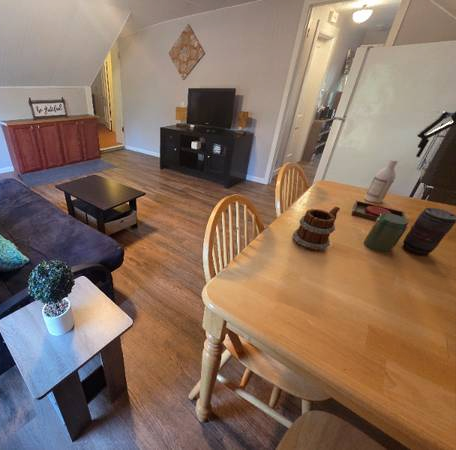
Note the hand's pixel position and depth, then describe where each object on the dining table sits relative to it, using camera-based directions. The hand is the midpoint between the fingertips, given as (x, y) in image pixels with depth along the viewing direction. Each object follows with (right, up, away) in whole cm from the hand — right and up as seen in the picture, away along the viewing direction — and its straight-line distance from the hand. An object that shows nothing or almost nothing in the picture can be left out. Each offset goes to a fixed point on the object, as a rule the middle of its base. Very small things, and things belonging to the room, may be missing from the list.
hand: (441, 159), depth 93 cm
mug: (-52, -31, -3) cm, 61 cm away
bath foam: (-3, -13, +26) cm, 29 cm away
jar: (-30, -33, -6) cm, 45 cm away
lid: (-13, -19, +12) cm, 26 cm away
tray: (-13, -21, +13) cm, 28 cm away
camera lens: (-19, -34, -8) cm, 40 cm away
